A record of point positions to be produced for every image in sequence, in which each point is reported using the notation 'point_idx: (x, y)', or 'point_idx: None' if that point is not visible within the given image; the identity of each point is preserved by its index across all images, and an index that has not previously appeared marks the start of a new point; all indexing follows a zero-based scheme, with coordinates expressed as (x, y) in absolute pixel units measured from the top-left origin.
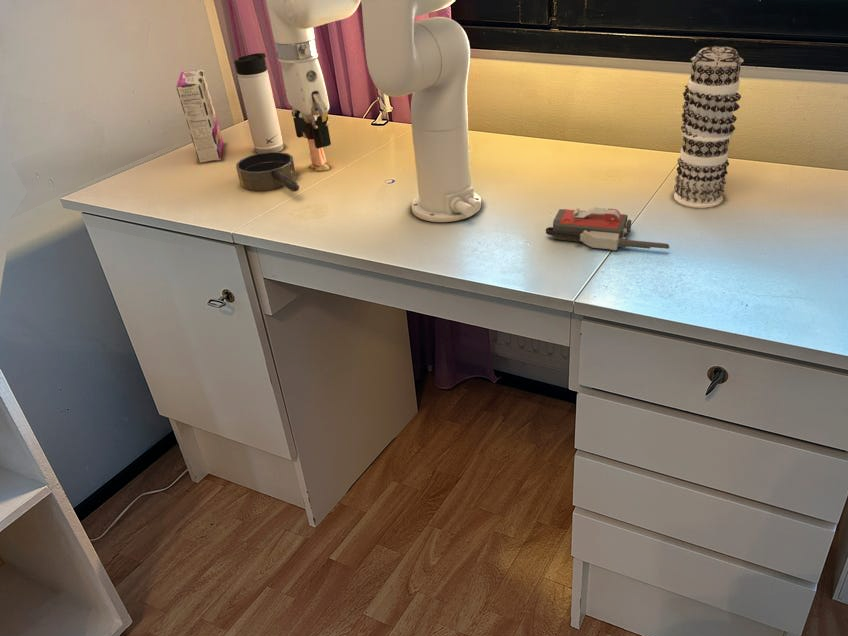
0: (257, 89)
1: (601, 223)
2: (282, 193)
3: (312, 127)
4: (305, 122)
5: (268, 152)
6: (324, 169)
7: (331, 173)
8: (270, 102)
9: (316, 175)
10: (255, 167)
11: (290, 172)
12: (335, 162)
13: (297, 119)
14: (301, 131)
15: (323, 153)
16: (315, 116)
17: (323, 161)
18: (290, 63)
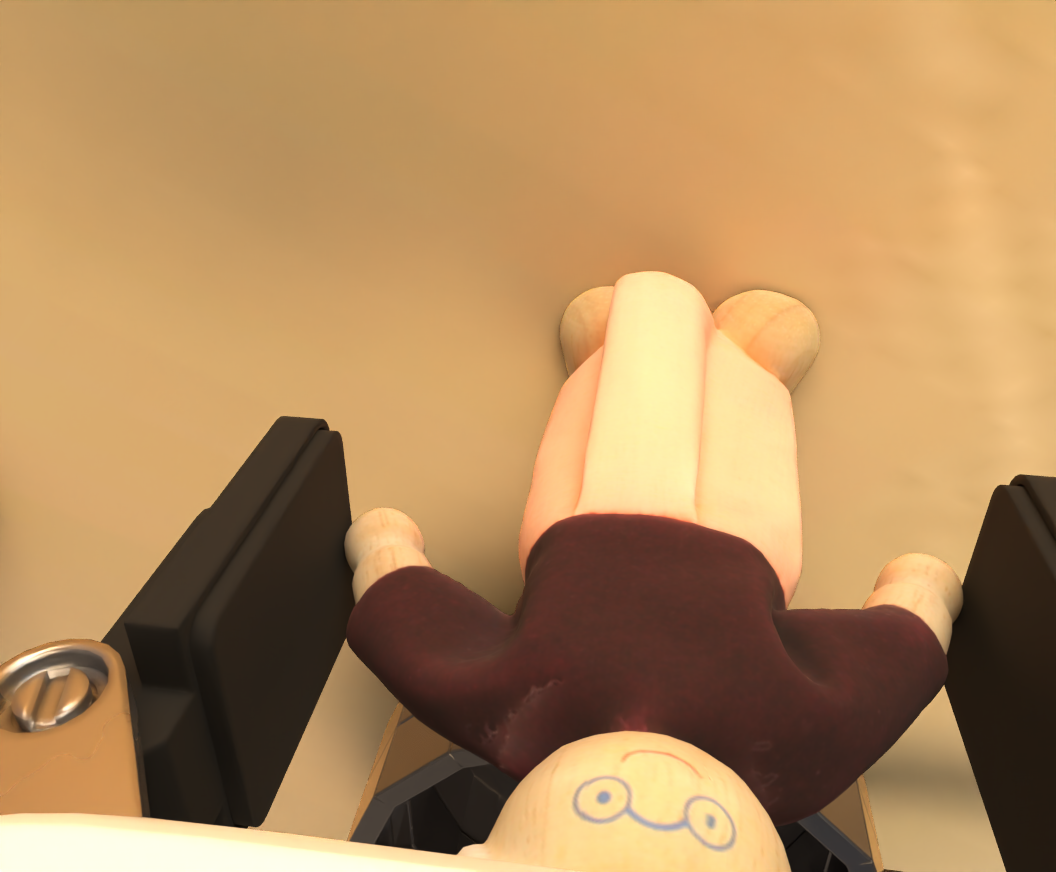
0: None
1: None
2: (942, 816)
3: (813, 800)
4: (267, 621)
5: (383, 811)
6: (809, 367)
7: (956, 354)
8: None
9: (853, 483)
10: (421, 821)
11: (858, 787)
12: (684, 137)
13: (253, 798)
14: (333, 613)
15: (699, 355)
16: (771, 862)
17: (713, 340)
18: None
